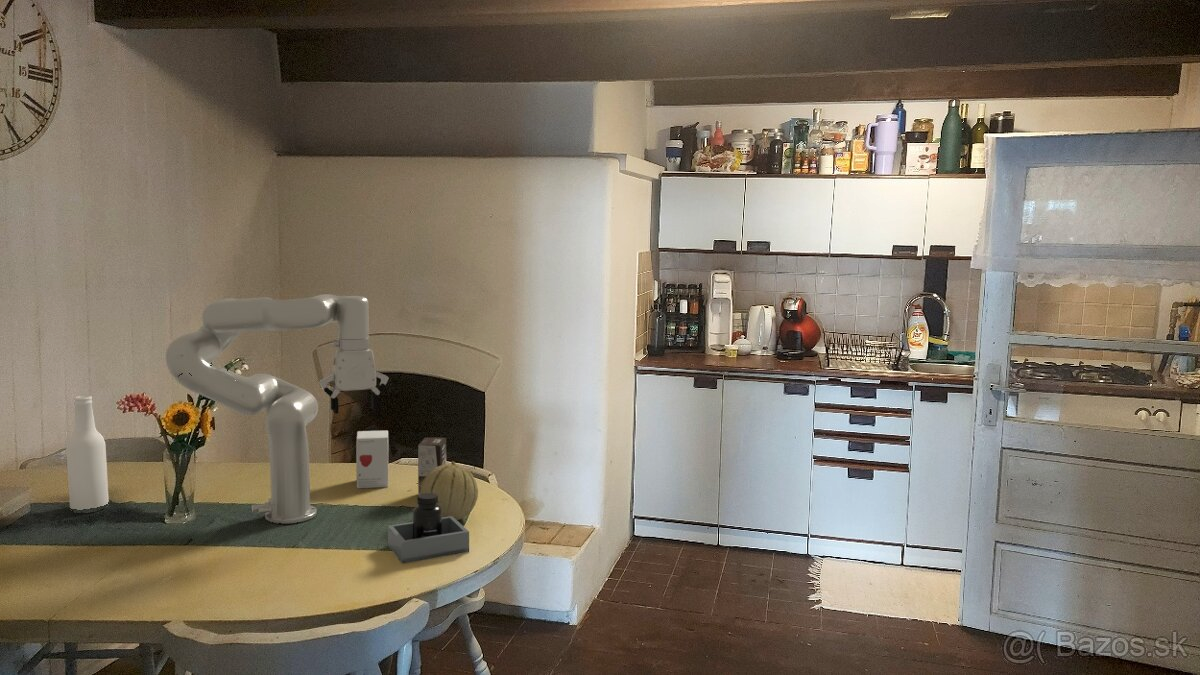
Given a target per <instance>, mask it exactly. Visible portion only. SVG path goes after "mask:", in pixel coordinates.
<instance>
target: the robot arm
mask: <svg viewBox="0 0 1200 675" xmlns="http://www.w3.org/2000/svg"><path fill="white" fill-rule="evenodd" d="M369 308H370V307H369V300H368V298H366V297H365V296H363V295H362V296H360V295H345V296H344V295H335V294H330V293H329V294H328V293H323V294H318V295H315V296H311V297H303V298H292V299H273V298H271V297H268V296H262V297H252V298H251V297H250V298H240V299H239V298H236V297H235V298H234V297H233V298H232V297H231V298H225V299H220V300H216V301H212V302H210V303H209V304H207V305H206V306H205V307H204V309H203V311H202V313H201V321H202V322H201V323H202V326H201V327H200V328H199V329H198V330H197V331H193V332H190V333H186V334H184V335H181V336H178V337H177V338H175V339H174V340H172V341H171V342H170V343H169V344H168V346H167V348H166V350H165V351H166V352H165V364H166V366H167V369H168V371H169V373H170V375H171V377H172V378H173V379H174V380H175V381H176V382H177V383H178V384H180V385H181V386H182V387H184V388H185V389H187V390H189V391H191V392H192V393H193V392H194V393H196V394H198V395H200V396H202V397H204V398H206V399H207V398H208V399H209V400H211V401H213V402H216V403H217V404H220V405H221V406H225V407H226V408H229V409H230V410H233V411H235V412H237V413H240V414H242V415H244V416H245V415H246V416H255V415H258V414H259V413H260V414H261V413H262V412H264V411H265V412H266V413H265V414H266V415H265V427H266V433H267V438H268V446H269V448H268V449H269V468H270V469H269V471H270V473H269V474H270V475H269V476H270V498H268V501H267V502H264V503H263V504H262V503H261V504H259V503H258V504H252V505H251V511H252V512H251V513H258V515H260V514H264V517H265V520H266V521H267V520H268V521H267V522H269V521H270V522H269V523H272V522H273V524H279V523H281V525H286V524H287V525H288V524H298V523H302V522H306V521H309V520H311V519H313V518H314V517H316V516H317V512H318V511H317V508H316V507H315V506H313V505H311V487H310V485H311V483H310V482H311V481H310V477H311V476H310V454H309V453H310V450H309V448H310V447H309V438H308V435H307V429H306V426H308V425H309V424H310V423H311V422H312V421H313V420H314V419H315V418H316V417H317V414H318V413H319V403H318V401H317V399H316V397H315V396H314V395H313V394H312V393H311V392H309V391H308V390H305V389H304V388H302V387H299V386H297V385H295V384H293V383H289V382H288V381H286V380H283V379H281V378H280V377H277V376H274V375H271V374H268V373H255V374H252V375H250V376H244V375H241V374H239V373H237V372H233V371H232V370H229V369H228V371H227V368H225V367H222V366H218V365H215V364H212V363H209V362H212V361H214V360H216V359H217V358H219V357H220V356H221V355H222V354H223V353H224V351H226V350H227V348H229V346H230V345H231V343H232V342H234V340H235V339H236V338H237V337H238V336H239V335H240V333H252V332H253V333H254V332H269V331H271V332H272V331H273V332H274V331H290V330H303V329H304V330H305V329H307V330H308V329H315V328H320V327H323V326H326V325H330V324H332V323H333V324H334V323H337V333H338V334H337V339H336V340H334V341H333V340H332V343H331V344H332V347H333V348H334V347H336V348H337V350H335V354H334V360H333V371H332V373H330V374H329V375H327V376H325V377H323V378H322V379H320V380H319V382H318V383H319V386H320V387H321V388H322V390H323V392H325V393H326V394H327V395H328V396H329V397H330V410H331V411H333V414H335V415H337V414H339V398H338V395H339V394H340V393H341V391H342V392H346V391H347V392H349V391H361V390H362V391H363V390H371V393H370V408H371V409H372V410H373V411H377V408H378V407H379V395H380V393H381V392H382V391H383V390H384V389H385V388H386V385H387V383H388V381H389V379H390V378H389V376H387V375H385V374H383V373H380V372H378V371H376V363H375V362H376V360H375V355H374V351H373V349H371V348H370V322H369V321H370V319H369V316H370V314H369V311H370V310H369ZM210 365H212V366H210ZM181 373H183V374H182V375H180V376H179V377H177V376H178V375H179V374H181ZM189 373H190V374H191V375H192V376H191V375H190V374H189ZM377 378H378V379H380V383H378V385H377ZM235 380H236V381H235ZM231 381H232V382H231ZM330 382H332V384H333V388H332V389H330V388H329V387H328V383H330ZM297 522H298V523H297Z"/></svg>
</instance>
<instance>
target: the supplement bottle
mask: <svg viewBox="0 0 1200 675" xmlns="http://www.w3.org/2000/svg"><path fill="white" fill-rule="evenodd" d="M416 499H417V501H416V504H417V505H416V506H415V507H414V508H413V510H412V522H413V539H417V538H423V537H429V536H435V535H442V509H441V507H440V506H438V505H437V504H438V495H437V494H434V493H423V494H420V495H418V494H417V498H416Z"/></svg>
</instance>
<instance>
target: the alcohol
mask: <svg viewBox="0 0 1200 675" xmlns="http://www.w3.org/2000/svg"><path fill="white" fill-rule="evenodd" d="M73 399H74V405H75V406H74V429H73V433H71V435H70V436H69V438H68V439H67V441H66V445H65V448H66V449H65V451H66V452H65V453H66V463H67V464H66V465H67V466H66V467H67V480H68V496H69V498H68V499H69V509H70V508H71V509H77V510H83V509H90V508H97V507H100V506H104V505H106V504H108V502H109V503H110V501H109V500H110V498H109V482H108V465H107V462H108V461H107V449H106V448H107V446H106V441H105V438H104V436H103V434H101V433H100V432H99V431H98V430H97V428H96V422H95V415H94V408H93V397H92V395H84V394H83V395H78V396H75V397H74V398H73ZM108 505H109V504H108ZM71 509H70V510H71Z"/></svg>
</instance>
